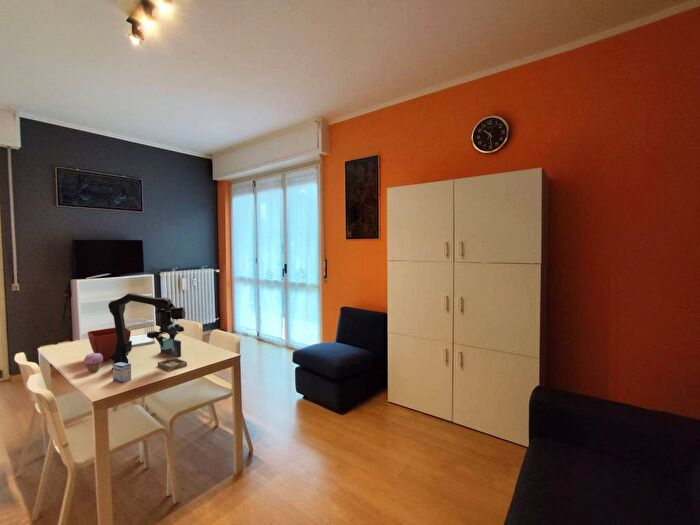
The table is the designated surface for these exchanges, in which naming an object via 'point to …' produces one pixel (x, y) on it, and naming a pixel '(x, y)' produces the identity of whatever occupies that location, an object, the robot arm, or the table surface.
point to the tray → (172, 364)
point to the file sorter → (140, 338)
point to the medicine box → (121, 372)
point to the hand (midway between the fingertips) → (166, 346)
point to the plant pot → (105, 341)
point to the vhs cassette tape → (173, 349)
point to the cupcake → (93, 361)
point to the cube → (167, 344)
